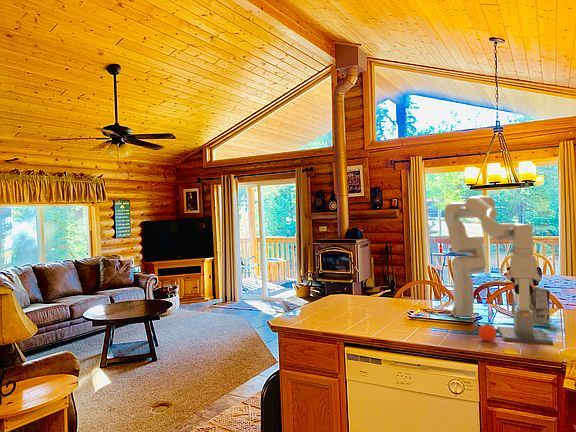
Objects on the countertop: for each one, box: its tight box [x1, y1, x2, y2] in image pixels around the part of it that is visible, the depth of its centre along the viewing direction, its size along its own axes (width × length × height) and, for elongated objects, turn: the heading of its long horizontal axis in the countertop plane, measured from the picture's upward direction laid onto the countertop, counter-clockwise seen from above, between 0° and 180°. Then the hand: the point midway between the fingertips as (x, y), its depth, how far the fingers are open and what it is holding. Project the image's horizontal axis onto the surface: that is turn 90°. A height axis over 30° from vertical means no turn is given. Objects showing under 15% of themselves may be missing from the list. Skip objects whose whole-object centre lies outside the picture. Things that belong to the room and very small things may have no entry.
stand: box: [497, 307, 554, 345], centre depth 186 cm, size 18×18×12 cm
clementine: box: [478, 323, 497, 343], centre depth 181 cm, size 8×7×7 cm
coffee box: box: [529, 287, 550, 324], centre depth 212 cm, size 9×6×16 cm
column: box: [516, 279, 530, 312], centre depth 186 cm, size 4×4×19 cm
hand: (523, 293), depth 186 cm, fingers closed on column, 4 cm apart
